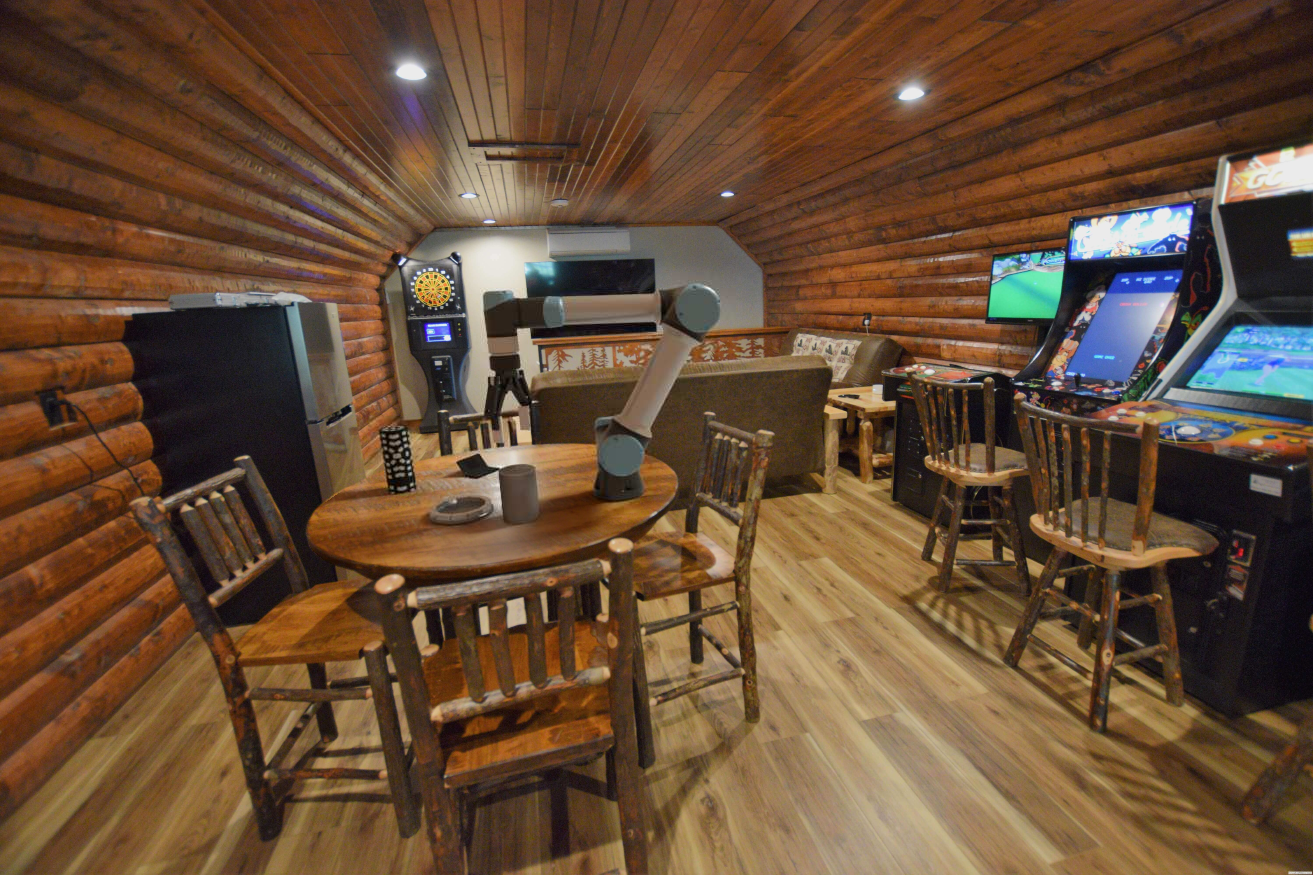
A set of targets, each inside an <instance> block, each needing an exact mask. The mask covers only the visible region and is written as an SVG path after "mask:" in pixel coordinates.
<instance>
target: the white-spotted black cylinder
mask: <svg viewBox="0 0 1313 875" xmlns="http://www.w3.org/2000/svg"><path fill="white" fill-rule="evenodd" d="M378 436H379V439H380V440H379V442H380V446H381V447H380V448H381V454H382V459H383V461H382V462H383V467H384V472H385V478H386V479H385V480H386V483H387V485H386V486H387V490H388V493H389V494H391V495H401V494H402V493H403V494H407V492H408V493H411V492H413V491H415V490H417V488H418V486H417V481H416V480H417V478H416V474H415V466H414V459H413V451H412V446H411V439H410V432H409V426H407V425H392V426H385V427H381V428H379V429H378Z"/></svg>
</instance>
